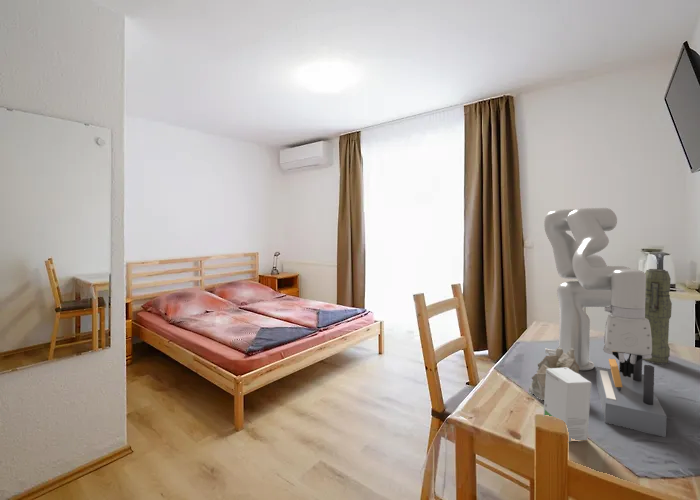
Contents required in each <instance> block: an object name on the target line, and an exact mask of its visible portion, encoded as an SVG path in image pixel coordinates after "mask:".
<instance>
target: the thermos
mask: <svg viewBox="0 0 700 500" xmlns="http://www.w3.org/2000/svg"><path fill="white" fill-rule="evenodd" d="M644 273H645V275H646V292H645V318H646V319H648V320H649V323H650V328H651V337H652V353H651V356H652V358H650V359H642V361H644V362H647V363H652V364H657V365H667V364H669V363H670V361H669V359H670V358H669V357H671V356H670V354H671V348H670V346H669V336H670V333H669V331H670V319H671V317H672V308H673V307H672V305H673V303H672V299H671V298H670V297H671V295H670V292H671V276H670V273H669V271H668V270H665V269H660V268H648V269H646V270H645V272H644Z"/></svg>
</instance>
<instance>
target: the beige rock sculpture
mask: <svg viewBox="0 0 700 500" xmlns="http://www.w3.org/2000/svg"><path fill="white" fill-rule="evenodd" d="M555 349H556V354H555V355H545V356H544V357H543V359H542V360H541V361H540V362H538V363H537V367H538V368H537V370H536V373H534V375H533V376H531V379H532V381H531V383H530V386H529V387H528V392H529V393H530V392H531V393H532V394H534V395H535V396H536V397H538V398H540V399H542V400H544V398H545V380H546V369H549V368H565V367H567V368H569V369H571V370H572V371H574V372H575V373H578V374H580V373H579V372H580V371H581V370H580V367H579V366H578V364H577V363H576V361H575V355H574V351H575V350H574V349H570V351H568V352H567V354H565V353H563V350H562V349H561V348H558V347H557V348H555ZM531 393H530V394H531ZM532 394H531V395H532ZM534 395H533V396H534ZM535 396H534V397H535ZM536 397H535V398H536ZM538 398H537V399H538ZM542 400H541V401H542Z"/></svg>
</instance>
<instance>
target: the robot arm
mask: <svg viewBox="0 0 700 500" xmlns="http://www.w3.org/2000/svg"><path fill="white" fill-rule="evenodd" d="M543 224H544V225H543V226H544V227H543V228H544V232H545V235H546V237H547V239H548V241H549V243H550V245H551V249H552V252H553V256H554V257H553V258H554V262H555V266H556V271H557V274H558V275H559V277H560V278H562V279H566V280H570V281H565V282H562V283H560V284H559V285H558V287H557V289H556V292H557V293H556V294H557V296H556V297H557V301H558V309H559V327H558V328H559V329H558V331H559V332H558V333H559V334H558V335H559V336H558V347H557V348H561V349H562V350H563V353H565V354H567V352H568V351H570V349H574V350H575V351H574V355H575V361H576V363H577V364H578V366H579V367H580V370H579V371H590V370H591V371H592V370H593V369H594V368H595V364H594V362H593V361H592V360H590V339H591V337H590V336H591V335H590V334H591V319H590V317H589V315H588V314H587V313H586V311H585V310H584V308H604V312H608V313H609V314H608V315H607V317H606V320H605V321H606V322H605V327H604V328H605V329H604V336H603V337H604V341H603V342H604V346H603V349H602V350H603V352H604V353H606V354H609V355H612V356H614V357H615V358H616V359H617V360H618V361H619V363H618V364H619V366H618V368H619V371H620V372H622V374H623V376H625V377H626V376H627V377H631V374H633V373H634V364H635V363H636V362H637V361H639V360H640V359H650V358H652V356H651V353H652V337H651V328H650V323H649V320H648V319H646V318H645V292H646V275H645V272H644V271H643V270H640V269H632V268H629V267H627V266H623V265H620V266H619V265H617V266H616V265H615V266H613V265H608V264H607V263H606V261H605V259H604V258H603V257H602V256H600V255H598V254H597V253H599V252H601V251H603V250H604V249H606V247H608V245H609V243H610V240H609V237H608V235H607V234H606V232H610V231H612V230H614V229H615V228H616V227H617V224H618V217H617V215H616V213H615V211H613V209H611V208H609V207H591V208H590V207H585V208H583V207H582V208H568V209H566V208H565V209H555V210H553V211H549V212H547V214H546V215H545V217H544V223H543ZM568 231H569V232H570V233H572V235H570V234H569V233H568ZM572 236H573V237H572ZM557 348H555V349H551V348H545V354H548V356H550V355H555V354H556V349H557ZM625 354H628V357H627V358H625Z"/></svg>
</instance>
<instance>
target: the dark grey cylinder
mask: <svg viewBox="0 0 700 500" xmlns="http://www.w3.org/2000/svg"><path fill="white" fill-rule="evenodd" d="M642 374H643V360H642V359H640V360H639V361H637V362H636V363H635V364H634V373H633V380H635V381H639V382H641V381H642Z"/></svg>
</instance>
